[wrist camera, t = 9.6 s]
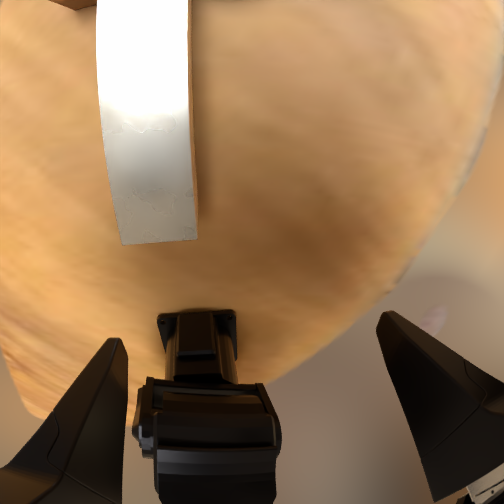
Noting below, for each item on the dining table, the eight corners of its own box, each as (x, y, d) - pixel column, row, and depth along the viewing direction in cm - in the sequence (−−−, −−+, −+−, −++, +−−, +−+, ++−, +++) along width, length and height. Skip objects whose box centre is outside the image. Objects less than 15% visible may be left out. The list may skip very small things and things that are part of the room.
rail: (198, 200, 20) (198, 240, 15) (137, 206, 19) (120, 246, 15) (194, -40, 11) (191, -75, 7) (125, -31, 11) (101, -60, 6)
